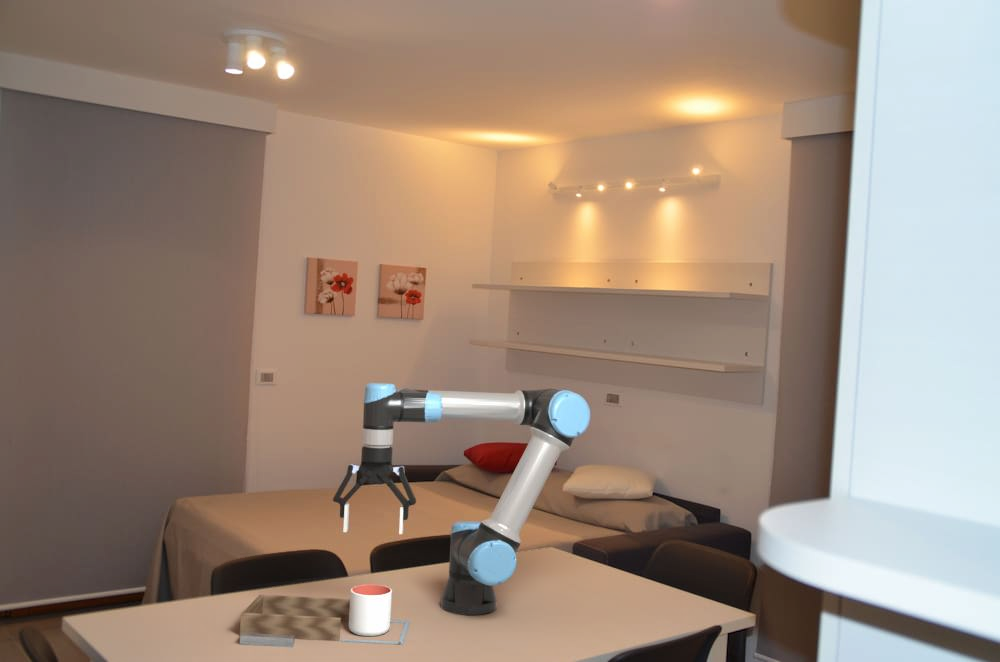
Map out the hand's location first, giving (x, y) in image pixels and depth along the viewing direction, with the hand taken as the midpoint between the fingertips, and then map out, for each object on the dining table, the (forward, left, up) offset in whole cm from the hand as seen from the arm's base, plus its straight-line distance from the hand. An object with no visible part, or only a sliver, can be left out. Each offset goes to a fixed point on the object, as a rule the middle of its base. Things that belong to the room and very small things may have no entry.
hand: (373, 532), depth 214 cm
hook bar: (+21, +15, -24) cm, 35 cm away
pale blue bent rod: (-2, +2, -24) cm, 24 cm away
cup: (-1, +2, -24) cm, 24 cm away
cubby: (+17, +2, -24) cm, 29 cm away
